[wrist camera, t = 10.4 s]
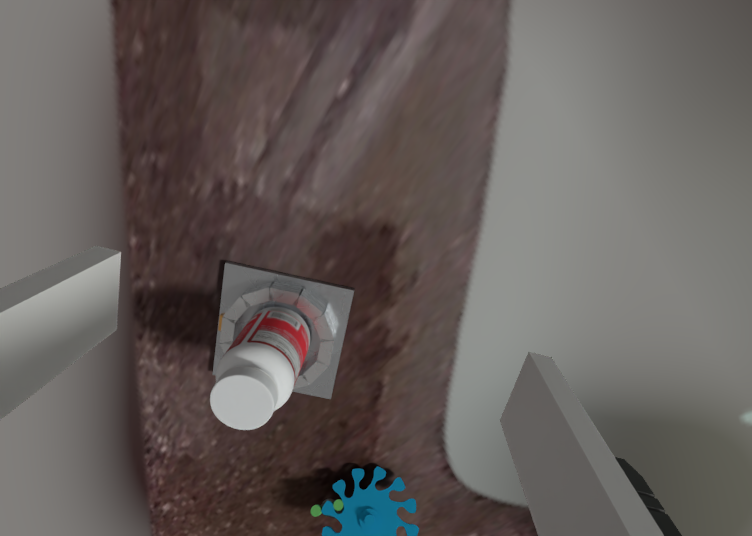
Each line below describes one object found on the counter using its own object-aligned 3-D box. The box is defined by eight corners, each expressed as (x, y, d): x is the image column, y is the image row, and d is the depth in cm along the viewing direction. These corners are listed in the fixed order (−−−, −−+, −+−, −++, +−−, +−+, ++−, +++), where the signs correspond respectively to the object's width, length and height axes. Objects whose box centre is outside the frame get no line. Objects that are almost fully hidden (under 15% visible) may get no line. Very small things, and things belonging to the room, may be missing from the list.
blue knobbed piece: (428, 479, 46) (408, 594, 41) (423, 481, 51) (405, 583, 47) (325, 452, 47) (295, 560, 43) (331, 456, 52) (305, 553, 48)
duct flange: (227, 260, 41) (218, 268, 39) (354, 288, 41) (352, 296, 39) (214, 371, 45) (206, 383, 43) (331, 395, 45) (328, 408, 43)
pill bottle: (258, 367, 44) (214, 444, 33) (239, 310, 42) (186, 374, 31) (319, 356, 43) (294, 432, 32) (302, 298, 41) (270, 359, 31)
